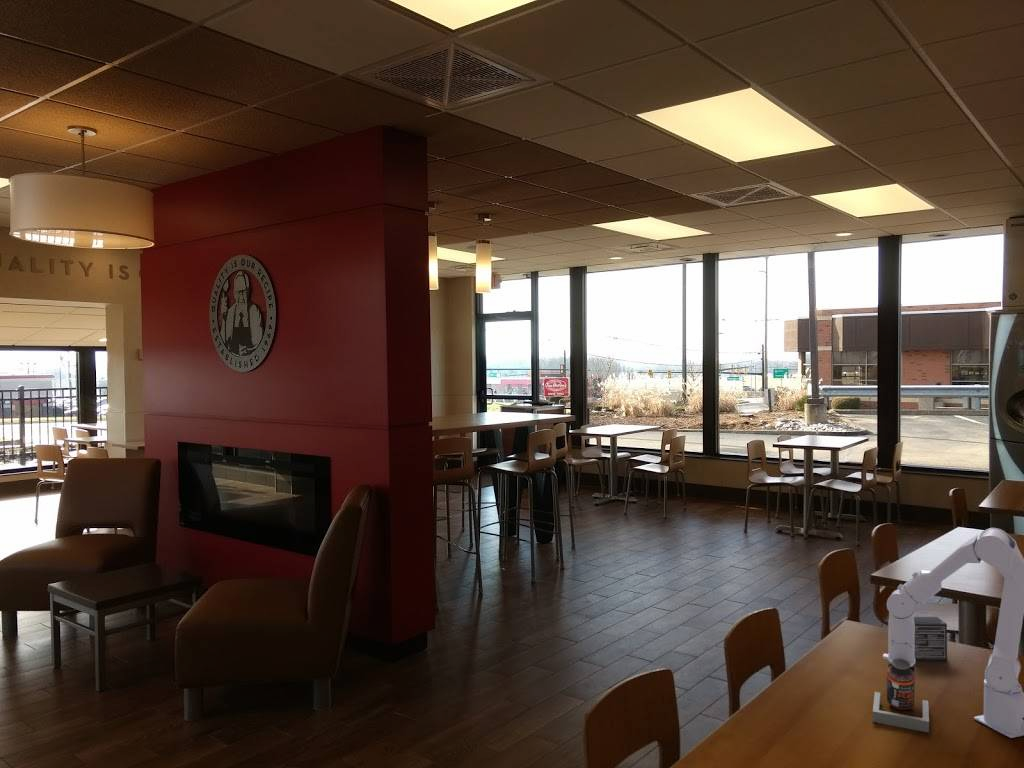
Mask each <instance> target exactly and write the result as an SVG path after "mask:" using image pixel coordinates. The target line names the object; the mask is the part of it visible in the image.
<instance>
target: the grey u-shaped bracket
mask: <svg viewBox="0 0 1024 768" xmlns="http://www.w3.org/2000/svg"><path fill="white" fill-rule="evenodd" d="M873 697H874V698H873V704H872V705H873V706H872V723H875V722H877V723H876V724H881V723H882V725H886V726H892V727H897V728H904V729H909V730H913V731H918V732H923V733H930V715H929V714H930V712H929V700H927V699H925V700H923V699H922V702H921V704H922V706H921V709H922V710H921V711H922V717H918V716H913V715H912V716H911V715H907V714H900V713H897V712H891V711H886V710H885V711H884V710H881V692H879V691H874V696H873Z"/></svg>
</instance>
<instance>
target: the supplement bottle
mask: <svg viewBox="0 0 1024 768" xmlns="http://www.w3.org/2000/svg"><path fill="white" fill-rule="evenodd" d="M915 679H916V676H915V671H914V672H913V671H912V670H911V669H910V663H909V662H908V661H906V660H904V659H901V658H896V659H893V660H892V662H891V666H890V667H889V668H887V669H886V700H887V703H888V705H890V706H891V707H892V708H894V709H895V710H901V711H908V710H911V709H913V708H914V706H915V698H916V697H915V694H916V693H915V691H916V690H915V689H916V687H915V684H916V683H915Z"/></svg>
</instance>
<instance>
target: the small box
mask: <svg viewBox="0 0 1024 768" xmlns="http://www.w3.org/2000/svg"><path fill="white" fill-rule="evenodd" d="M914 622H915V660H916V661H917V662H919V661H918V660H921V661H920V662H948V637H947V636H948V629H947V627H948V623H946V622H945V621H944V620H942V619H940V617H938V616H914Z"/></svg>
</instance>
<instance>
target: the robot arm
mask: <svg viewBox="0 0 1024 768" xmlns="http://www.w3.org/2000/svg"><path fill="white" fill-rule="evenodd" d="M978 537H979V538H978ZM981 561H983V562H984V563H985V564H987V565H990V566H991V567H993V568H994V569H996V570H997V572H999V574H1001V576H1002V577H1003V579H1004V582H1003V587H1002V594H1001V601H1000V608H999V612H998V620H997V627H996V633H995V639H994V640H995V641H994V644H993V650H992V653H991V654H990V655H989V657H988V663H987V666H986V667H985V670H984V674H983V675H984V679H983V714H981V715H977V716H974V717H973V719H974V720H976V721H977V722H978V723H979V722H980V723H981V724H983V725H985V726H986V727H989V728H990V729H992V730H995V731H996V732H998V733H1000V734H1002V735H1004V736H1007V737H1008V738H1010V739H1013V738H1017V737H1022V736H1024V691H1023V688H1022V684H1020V682H1019V675H1020V672H1021V669H1022V666H1021V663H1020V662H1021V661H1020V660H1019V657H1018V656H1019V647H1020V646H1019V645H1020V641H1021V634H1022V628H1023V620H1024V556H1023V555H1022V553H1021V551H1020V549H1019V547H1018V543H1017V541H1016V540H1015V539H1014V538H1012V536H1010V534H1008V533H1007V532H1006V531H1005V530H1003V529H1001V528H996V527H990V528H987V529H985V530H983V531H982V532H981V533H980V535H978V534H977V535H975V536H973V537H972V538H970V539H968V540H967V541H966V542H964V543H963V544H961V545H960V546H959V547H958V548H957V549H955V550H954V551H952V553H950V554H949V555H948V556H947V557H945V559H943V560H942V561H940V563H938V565H936V566H935V567H934V568H933V569H931V570H930V569H929V570H927V569H921V570H920V571H918V570H915V571H914V572H913V573H912V574H911V576H912V577H911V578H910V579H908V580H907V581H906V582H905V583H904V584H902V583H900V584H899V585H898V586H897V589H895V590H894V591H893V592H892V593H891V595H889V596H888V598H887V601H886V609H887V611H888V633H887V635H888V636H887V637H888V640H887V641H888V646H887V647H888V648H887V649H888V650H887V651H888V653H883V654H882V658H883V660H886V661H887V660H888V661H889V662H888V666H887V667H888V668H889V667H890V666H891V662H892V660H893V659H896V658H901V659H904V660H906V661H908V662H909V663H910V669H911V670H912V671H913V672H914V673H915V664H916V660H915V622H914V617H915V610H916V608H917V607H920V606H922V605H923V604H924V603H926V602H928V601H929V600H930V599H931V598H932V597H934V596H935V595H936V594H938V593H939V592H940V591H942V588H943V587H942V582H943V581H945V580H946V579H947V578H948V577H950V576H951V575H953V574H954V573H955V572H957V571H958V570H959V569H962V567H964V566H966V565H967V564H980V563H981ZM888 668H887V669H888Z"/></svg>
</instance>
